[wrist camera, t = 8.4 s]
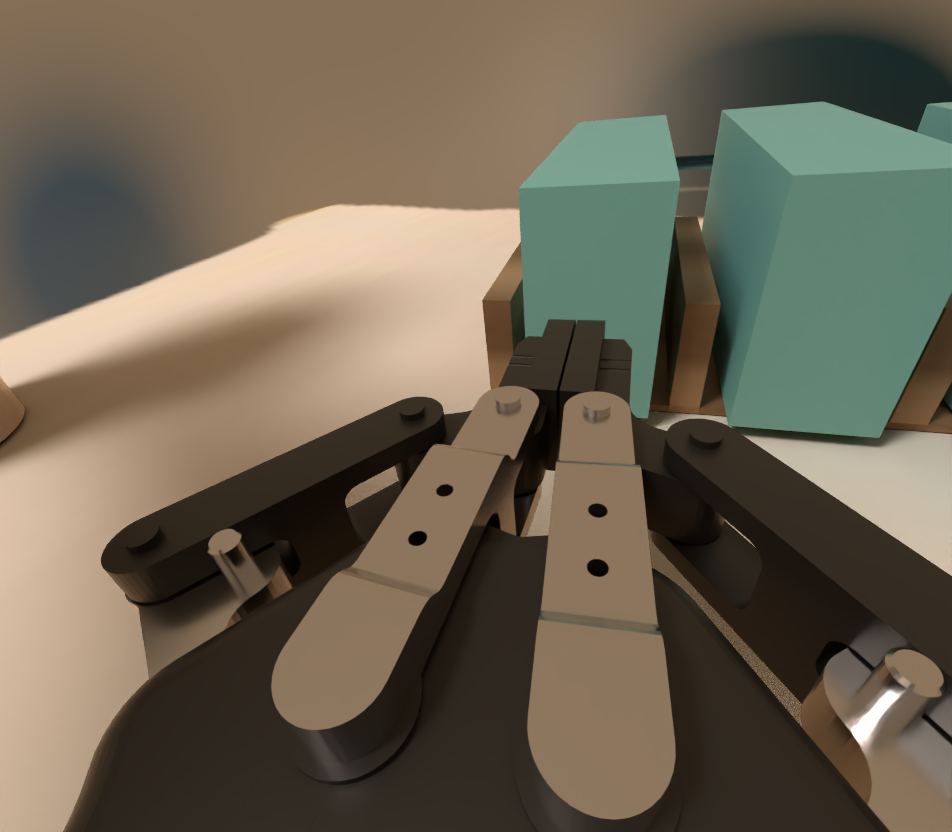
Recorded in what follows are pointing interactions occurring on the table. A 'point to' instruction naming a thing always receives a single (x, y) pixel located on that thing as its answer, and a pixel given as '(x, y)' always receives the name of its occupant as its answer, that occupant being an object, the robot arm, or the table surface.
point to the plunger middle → (824, 264)
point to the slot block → (711, 340)
